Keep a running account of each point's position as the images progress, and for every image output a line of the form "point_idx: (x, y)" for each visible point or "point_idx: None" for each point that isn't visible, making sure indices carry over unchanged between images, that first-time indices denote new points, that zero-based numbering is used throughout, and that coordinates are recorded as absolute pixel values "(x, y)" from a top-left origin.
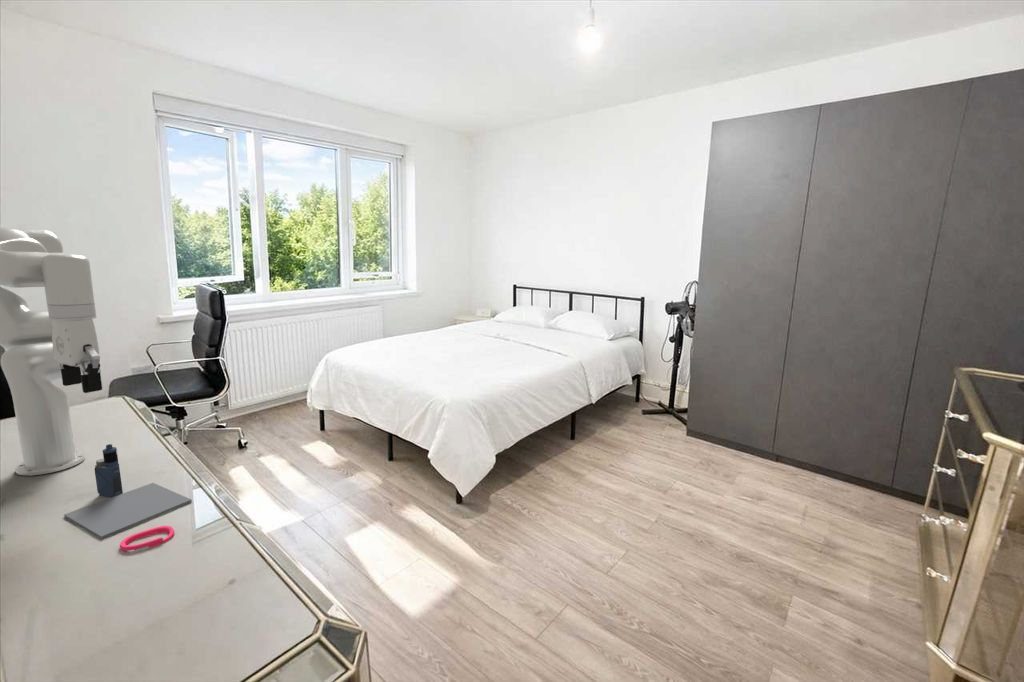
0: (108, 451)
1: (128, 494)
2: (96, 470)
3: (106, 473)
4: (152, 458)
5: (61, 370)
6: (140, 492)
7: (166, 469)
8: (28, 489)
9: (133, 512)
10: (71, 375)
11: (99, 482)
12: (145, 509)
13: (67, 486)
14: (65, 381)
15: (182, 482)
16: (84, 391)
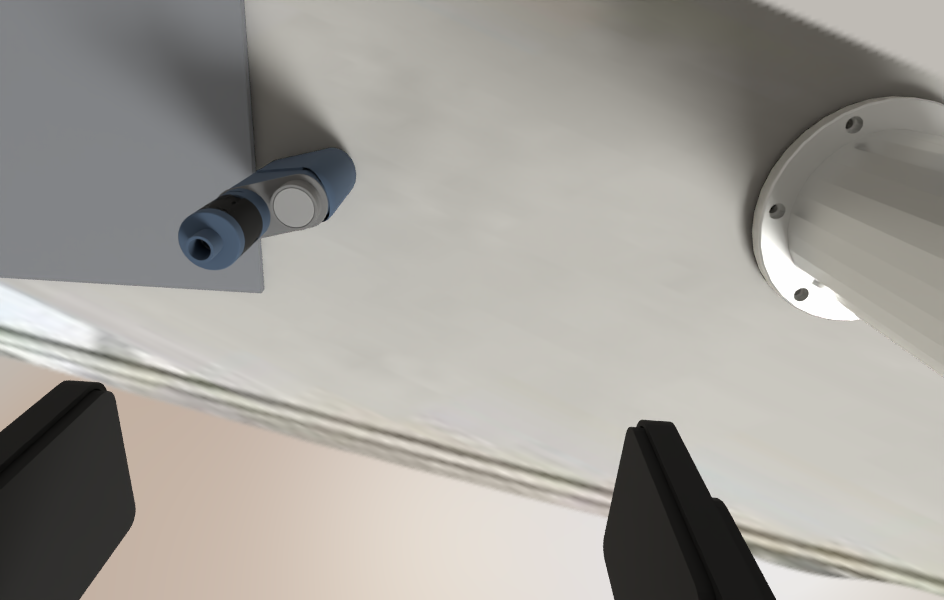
0: (181, 224)
1: None
2: (302, 170)
3: (246, 181)
4: (535, 414)
5: (735, 583)
6: None
7: (375, 382)
8: (684, 46)
9: (28, 123)
10: (646, 574)
11: (304, 159)
12: (20, 157)
13: (560, 136)
14: (642, 462)
15: (196, 346)
16: (61, 389)
